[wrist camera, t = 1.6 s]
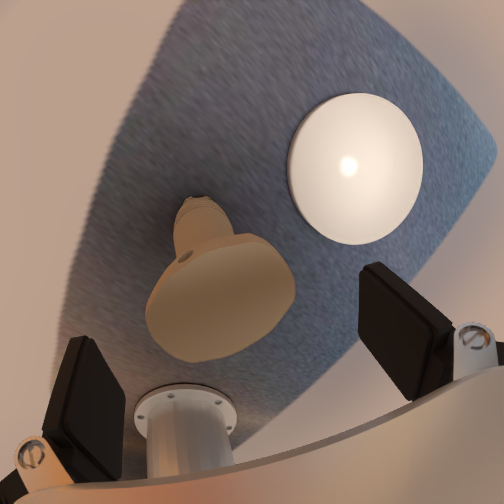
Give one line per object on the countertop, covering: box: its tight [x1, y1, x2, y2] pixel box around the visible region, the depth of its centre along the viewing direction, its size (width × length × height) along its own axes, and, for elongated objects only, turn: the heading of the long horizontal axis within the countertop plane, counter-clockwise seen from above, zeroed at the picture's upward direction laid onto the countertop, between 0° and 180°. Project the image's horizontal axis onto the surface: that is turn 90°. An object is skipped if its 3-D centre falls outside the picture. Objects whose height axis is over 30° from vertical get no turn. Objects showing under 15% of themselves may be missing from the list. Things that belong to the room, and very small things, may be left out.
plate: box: [287, 93, 423, 245], centre depth 27 cm, size 14×14×2 cm
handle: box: [145, 196, 295, 363], centre depth 20 cm, size 5×6×15 cm
